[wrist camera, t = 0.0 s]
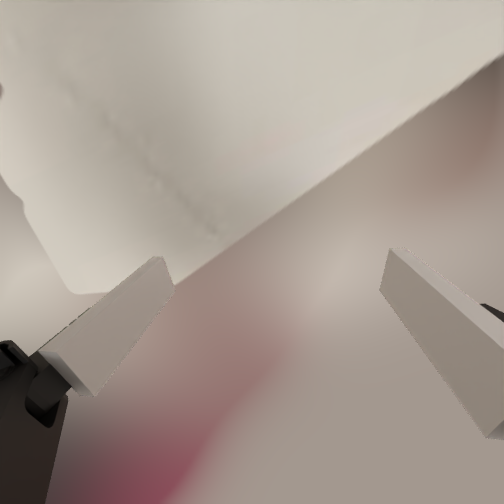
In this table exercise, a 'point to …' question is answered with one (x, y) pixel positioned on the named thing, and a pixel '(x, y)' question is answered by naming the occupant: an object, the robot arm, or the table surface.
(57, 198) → the table surface
